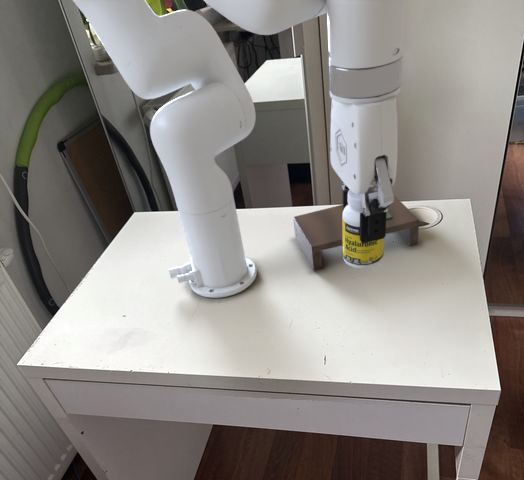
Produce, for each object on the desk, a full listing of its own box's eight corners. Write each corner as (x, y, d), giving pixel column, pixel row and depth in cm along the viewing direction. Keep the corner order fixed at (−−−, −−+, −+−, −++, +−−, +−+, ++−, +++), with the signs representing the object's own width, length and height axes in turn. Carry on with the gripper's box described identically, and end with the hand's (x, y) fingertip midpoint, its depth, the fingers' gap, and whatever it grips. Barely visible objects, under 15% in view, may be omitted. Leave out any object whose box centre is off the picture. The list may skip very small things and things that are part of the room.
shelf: (313, 270, 94) (311, 246, 91) (295, 239, 103) (292, 215, 100) (417, 244, 96) (419, 218, 92) (390, 215, 105) (391, 191, 101)
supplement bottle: (339, 268, 70) (337, 201, 63) (347, 246, 73) (346, 180, 67) (379, 271, 68) (382, 203, 61) (386, 249, 72) (389, 182, 65)
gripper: (307, 64, 61) (315, 204, 73) (360, 109, 49) (359, 270, 61) (368, 51, 62) (366, 193, 74) (435, 93, 49) (420, 255, 62)
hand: (363, 226), depth 67 cm, fingers closed on supplement bottle, 5 cm apart
